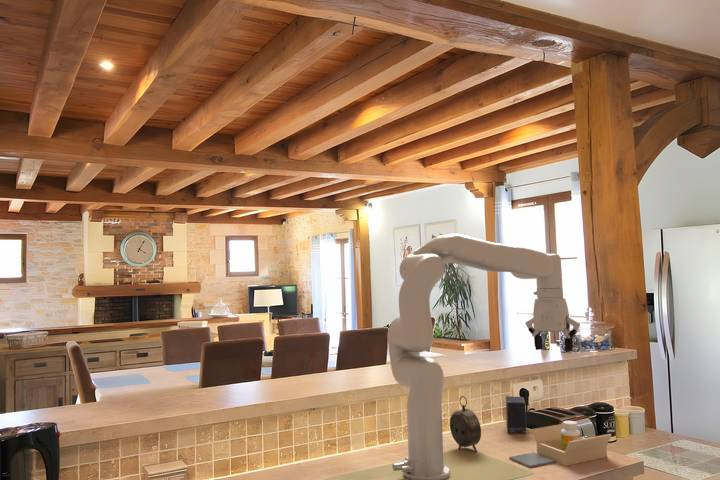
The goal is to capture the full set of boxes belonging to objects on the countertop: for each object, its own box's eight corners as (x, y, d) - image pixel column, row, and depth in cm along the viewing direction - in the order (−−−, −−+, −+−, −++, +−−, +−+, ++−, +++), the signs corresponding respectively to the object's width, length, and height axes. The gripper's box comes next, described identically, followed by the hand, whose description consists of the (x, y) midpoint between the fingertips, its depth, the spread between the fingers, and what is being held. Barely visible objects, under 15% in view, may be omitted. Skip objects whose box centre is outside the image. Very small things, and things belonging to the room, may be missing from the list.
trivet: (530, 467, 163) (529, 465, 163) (509, 459, 171) (509, 457, 171) (555, 462, 167) (555, 460, 167) (533, 454, 175) (533, 452, 175)
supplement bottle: (558, 454, 174) (556, 421, 175) (573, 452, 176) (571, 419, 176) (569, 459, 169) (568, 425, 170) (585, 457, 171) (583, 423, 171)
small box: (527, 434, 197) (526, 402, 198) (507, 433, 198) (506, 402, 199) (525, 426, 207) (523, 396, 208) (506, 425, 209) (504, 395, 209)
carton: (571, 467, 162) (570, 441, 162) (532, 452, 177) (531, 428, 177) (613, 459, 168) (611, 434, 169) (571, 445, 183) (570, 422, 183)
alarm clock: (483, 452, 178) (480, 398, 179) (468, 455, 176) (466, 400, 177) (461, 443, 188) (459, 392, 189) (447, 446, 186) (445, 394, 187)
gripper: (518, 295, 184) (521, 350, 183) (571, 294, 172) (575, 353, 171) (530, 293, 189) (534, 347, 189) (582, 293, 177) (586, 350, 176)
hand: (553, 350), depth 180 cm, fingers open, 9 cm apart
